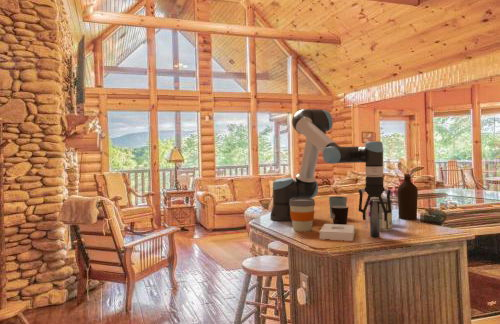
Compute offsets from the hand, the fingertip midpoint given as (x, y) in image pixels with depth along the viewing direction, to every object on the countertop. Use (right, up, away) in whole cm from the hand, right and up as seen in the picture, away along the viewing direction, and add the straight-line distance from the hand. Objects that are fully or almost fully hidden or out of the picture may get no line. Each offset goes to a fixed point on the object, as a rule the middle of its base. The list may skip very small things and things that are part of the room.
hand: (374, 227), depth 167 cm
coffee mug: (-9, -4, +26) cm, 28 cm away
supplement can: (+13, -3, +36) cm, 38 cm away
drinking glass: (-4, -3, +51) cm, 51 cm away
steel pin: (0, -4, 0) cm, 4 cm away
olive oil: (+34, -3, +45) cm, 56 cm away
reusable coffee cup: (-30, -4, +18) cm, 35 cm away
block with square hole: (-16, -4, +3) cm, 17 cm away
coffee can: (+9, -4, +17) cm, 20 cm away
